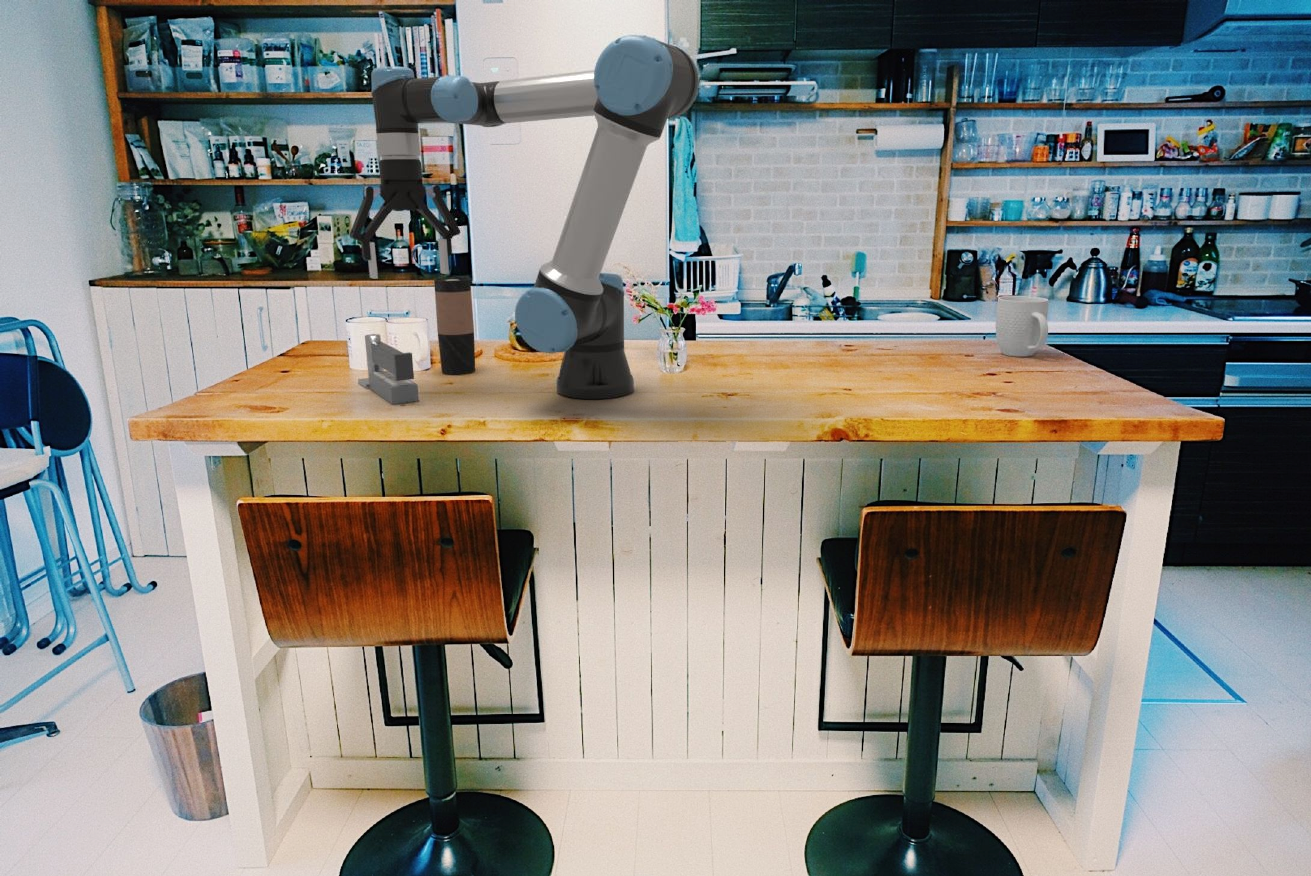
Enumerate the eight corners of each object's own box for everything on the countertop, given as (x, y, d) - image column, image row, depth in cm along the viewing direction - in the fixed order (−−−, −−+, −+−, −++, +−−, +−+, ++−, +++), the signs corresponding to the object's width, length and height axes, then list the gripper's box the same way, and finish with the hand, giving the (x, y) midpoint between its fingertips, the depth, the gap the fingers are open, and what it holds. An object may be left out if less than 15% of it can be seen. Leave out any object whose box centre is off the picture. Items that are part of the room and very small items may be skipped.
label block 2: (380, 396, 171) (378, 378, 170) (405, 392, 174) (404, 375, 173) (392, 404, 165) (390, 386, 164) (418, 401, 167) (417, 382, 166)
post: (358, 383, 182) (353, 334, 180) (387, 379, 186) (383, 332, 183) (366, 388, 178) (361, 339, 175) (396, 384, 181) (391, 336, 178)
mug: (1063, 361, 201) (1070, 303, 197) (1020, 363, 198) (1027, 304, 195) (1023, 349, 215) (1029, 294, 211) (982, 351, 212) (988, 296, 209)
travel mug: (468, 376, 189) (461, 281, 183) (434, 374, 190) (427, 280, 184) (481, 368, 196) (476, 277, 190) (449, 367, 197) (443, 276, 192)
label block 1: (370, 389, 177) (368, 372, 176) (395, 386, 180) (393, 369, 179) (381, 397, 171) (380, 379, 170) (407, 393, 173) (405, 376, 172)
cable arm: (370, 364, 178) (367, 340, 176) (386, 362, 179) (383, 339, 178) (396, 381, 163) (394, 355, 162) (414, 378, 165) (411, 353, 163)
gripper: (458, 159, 172) (466, 270, 178) (324, 159, 160) (337, 278, 165) (471, 158, 166) (479, 273, 172) (334, 157, 153) (347, 281, 159)
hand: (410, 276), depth 169 cm, fingers open, 13 cm apart
